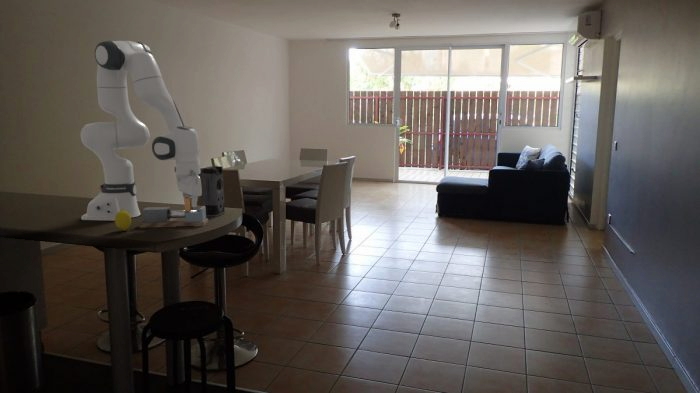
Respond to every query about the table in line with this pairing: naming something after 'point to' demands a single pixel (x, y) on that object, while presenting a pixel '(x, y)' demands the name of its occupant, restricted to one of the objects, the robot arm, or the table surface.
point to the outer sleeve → (155, 214)
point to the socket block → (196, 215)
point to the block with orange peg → (182, 212)
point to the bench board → (173, 223)
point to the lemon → (123, 220)
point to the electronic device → (213, 190)
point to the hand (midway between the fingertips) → (190, 205)
